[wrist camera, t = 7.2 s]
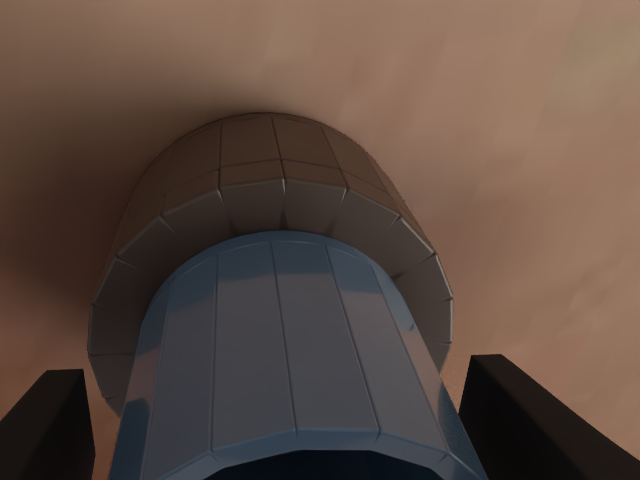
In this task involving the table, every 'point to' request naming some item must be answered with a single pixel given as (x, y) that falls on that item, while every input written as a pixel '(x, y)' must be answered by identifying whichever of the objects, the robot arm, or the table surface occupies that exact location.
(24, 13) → the table surface
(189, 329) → the cup
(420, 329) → the brown short cylinder
